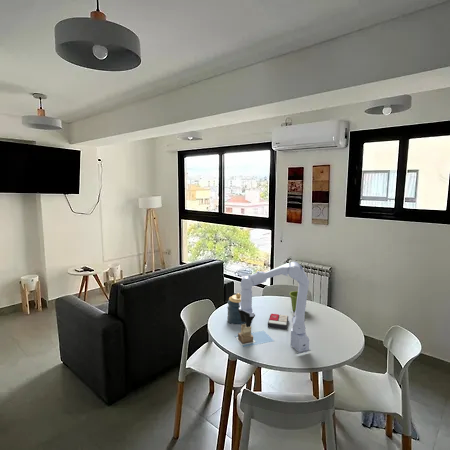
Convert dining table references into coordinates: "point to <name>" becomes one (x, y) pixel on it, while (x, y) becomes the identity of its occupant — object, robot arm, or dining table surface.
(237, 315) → the canister
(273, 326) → the multicoloured piece
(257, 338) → the board
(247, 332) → the maple block
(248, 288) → the robot arm
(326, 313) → the dining table surface
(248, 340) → the walnut base
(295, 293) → the plant pot
